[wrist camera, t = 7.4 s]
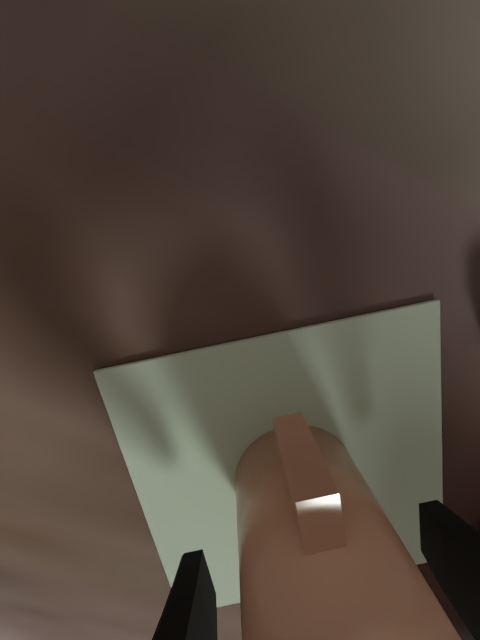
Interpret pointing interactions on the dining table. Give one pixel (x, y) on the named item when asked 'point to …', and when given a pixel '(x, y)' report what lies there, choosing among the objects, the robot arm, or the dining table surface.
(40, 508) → the dining table surface
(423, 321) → the felt mat
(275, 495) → the terracotta jug
